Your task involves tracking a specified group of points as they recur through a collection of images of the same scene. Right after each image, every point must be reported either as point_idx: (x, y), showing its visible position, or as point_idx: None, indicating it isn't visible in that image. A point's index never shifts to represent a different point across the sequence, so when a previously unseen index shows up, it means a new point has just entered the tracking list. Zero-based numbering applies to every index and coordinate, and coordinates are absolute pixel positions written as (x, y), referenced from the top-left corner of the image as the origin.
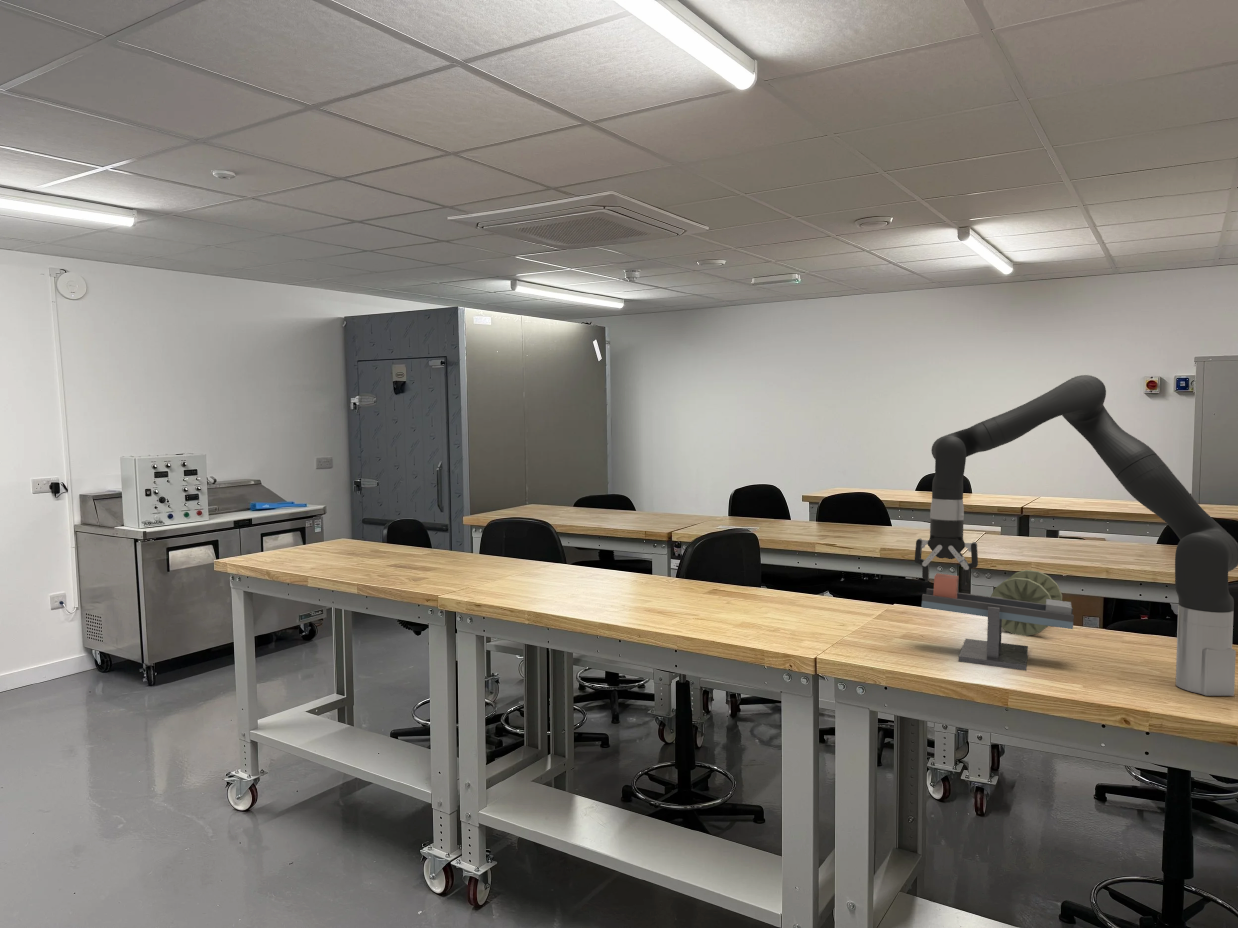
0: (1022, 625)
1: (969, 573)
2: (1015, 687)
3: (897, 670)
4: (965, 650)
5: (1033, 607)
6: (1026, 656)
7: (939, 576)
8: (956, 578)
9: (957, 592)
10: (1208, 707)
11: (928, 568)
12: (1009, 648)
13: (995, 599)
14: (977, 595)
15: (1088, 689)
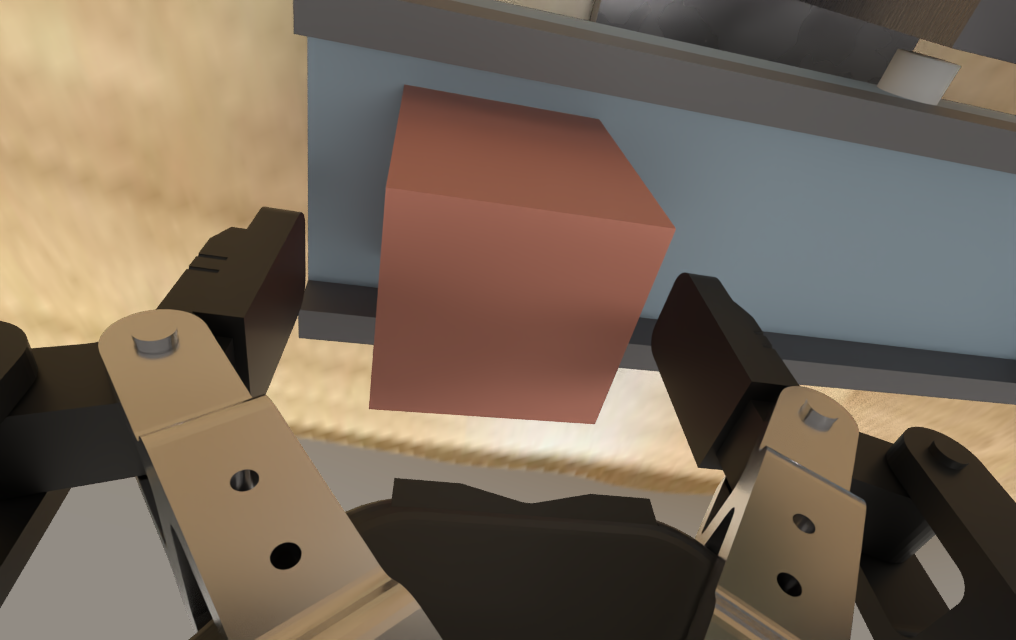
0: None
1: (783, 373)
2: (645, 452)
3: (314, 422)
4: None
5: None
6: None
7: (423, 381)
8: (602, 390)
9: (633, 54)
10: None
11: (259, 379)
12: (825, 49)
13: (925, 152)
14: (805, 112)
15: (851, 411)
